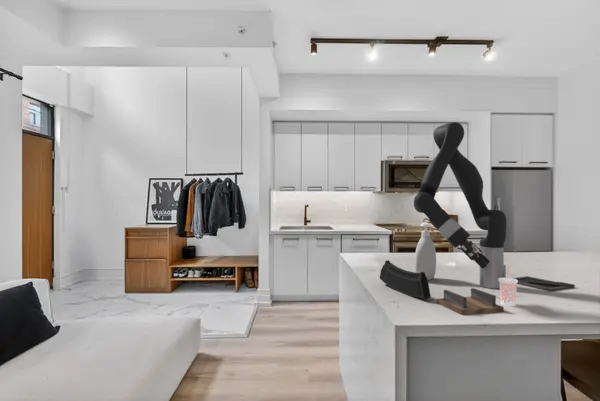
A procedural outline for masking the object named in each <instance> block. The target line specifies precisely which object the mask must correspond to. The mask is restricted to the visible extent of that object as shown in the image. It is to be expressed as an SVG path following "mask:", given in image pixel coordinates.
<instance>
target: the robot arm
mask: <svg viewBox="0 0 600 401" xmlns="http://www.w3.org/2000/svg"><path fill="white" fill-rule="evenodd" d="M464 128H465V127H463V125H462V124H461V123H459V122H457V121H455V122H454V121H453V122H449V123H445V124H442V125H440V126H439V125H438V127H437V126H436V128H435V129H434V130H433V134H432V135H433V140H434V143H435V144H436V146H437V148H438V149H439V151H438V152H437V154H436V156H434V158H433V159H432V160H431V161H430V163H429V165H428V166H427V168H426V169H425V172H424V174H423V177H422V179H421V183H420V188H419V190H418V192H417V193H416V195H415V196H414V200H413V207H414V209H415V211H416V212H418V213H419V214H424V215H425V216H426V217H427V218H428V220H429V222H430V224H431V225H433V226H434V227H433V228H435V229H436V230H437V231H438V232H439V233H440V234H441V236H442V237H443V238H444V239H445V240H446V241H447V242H448V243H449V244H450V245H451V246H452V247H453V248H455V249H456V248H458V247H459V246H460V247H459V250H461V251H462V253H464V254H465V256H467V257H468V258H469V260H471V261H473V262H475V263H476V264H477V265H478V266H479V286H480V287H484V288H488V289H500V285H499V281H498V280H499V279H498V278H507V266H506V264H504V263H505V262H504V260H505V259H504V256H505V254H504V250H505V249H504V245H505V242H506V237H507V217H506V214H505V212H503V210H500V209H489V208H488V207H487V205H486V203H485V201H484V198H483V193H484V192H483V191H484V181H483V177H482V176H481V173H480V171H479V170H478V168H477V167H476V165H475V164H474V163H473V162H471V160H469V159H468V158H467V157H465V155H463V154H462V153H461V152H460V151H459V149H458V148H459V146H460V145H461V143H462V141H463V139H464V137H465V129H464ZM448 166H449V167H450V169H451V171H452V173H453V175H454V177H455V180H456V182H457V184H458V186H459V187H460V189H461V191H462V193H463V195H464V198H465V199H466V202H467V204H468V206H469V209H470V212H471V214H472V216H473V219H474V222H475V224H476V225H477V227H478V228H479V229H480V230H483V231H487V234H486V236H485V237H484V238H481V239H479V247H478V246H477V245H476V244H475V243H474V242H473V241H472V240H468V239H469V237H471V234H470V233H469V232H468V231H467V230H466V229H465V228H464V227H462V225H461V224H460V223H458V222H457V221H456V220H455V219H454V218H452V217H451V215H449V213H447V212H446V211H445V210H444V209H443V208H442V206H440V204H439V203H438V202H437V200H436V199H435V198H436V197H435V196H436V193H437V191H438V189H439V188H440V185H441V182H442V179H443V177H444V174H445V172H446V170H447V168H448Z"/></svg>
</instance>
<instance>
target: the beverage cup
mask: <svg viewBox="0 0 600 401" xmlns="http://www.w3.org/2000/svg"><path fill="white" fill-rule="evenodd" d="M509 269H510V265H508V264H507V266H506V278H498V279H499V280H498V281H499V285H500V288H499V296H500V298H499V299H500V305H501V306H505V307H515V306H516V304H517V303H516V301H517V286H518V284H517V283H518V280H517V279H513V278H514V277H510V276H509V272H510V270H509Z"/></svg>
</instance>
